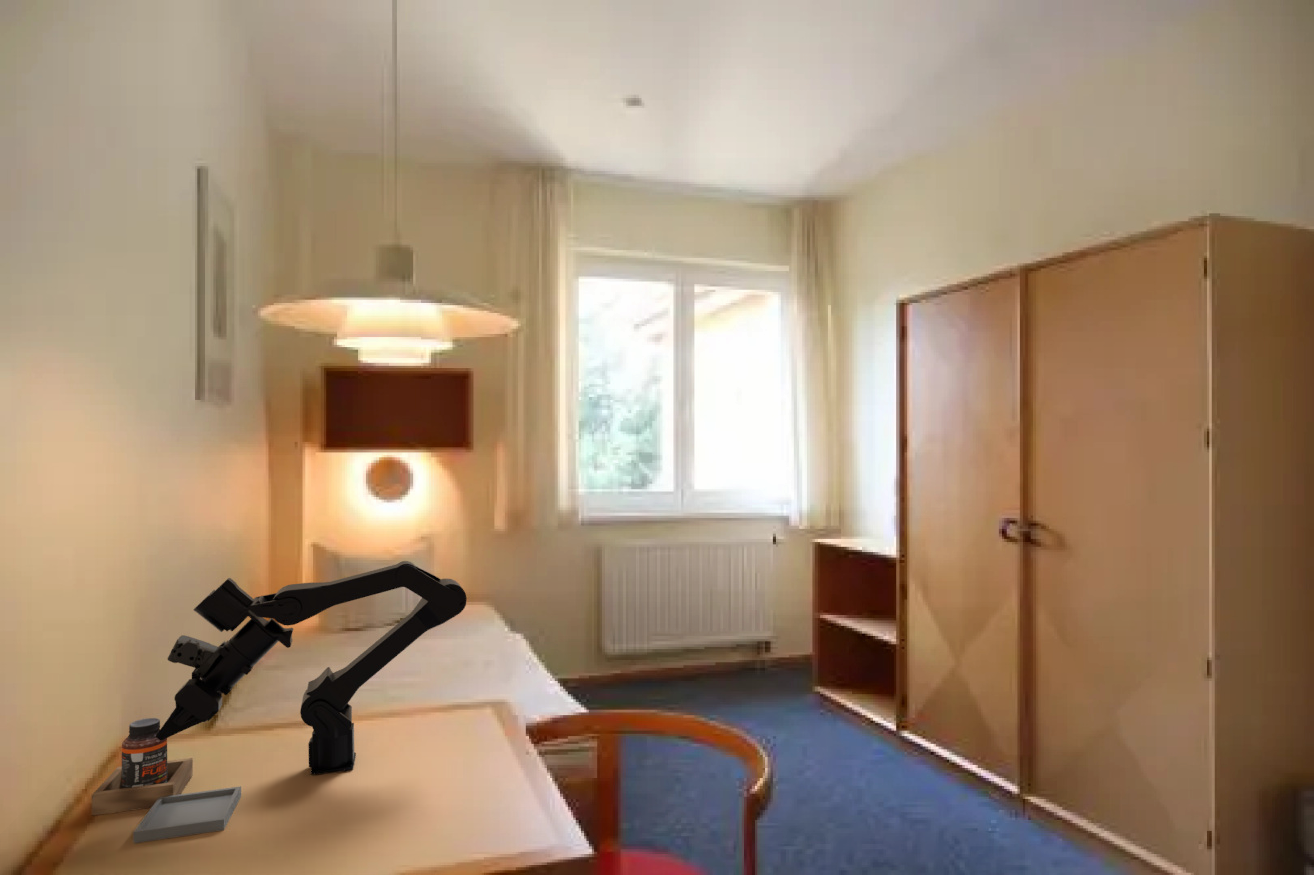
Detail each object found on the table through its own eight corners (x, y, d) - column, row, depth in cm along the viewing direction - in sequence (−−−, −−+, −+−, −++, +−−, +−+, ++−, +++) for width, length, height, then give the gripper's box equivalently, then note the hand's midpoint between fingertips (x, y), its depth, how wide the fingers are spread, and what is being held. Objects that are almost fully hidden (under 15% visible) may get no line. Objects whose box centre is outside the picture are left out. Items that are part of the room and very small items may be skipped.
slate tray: (241, 796, 119) (241, 786, 119) (223, 830, 109) (223, 819, 109) (159, 807, 116) (159, 797, 116) (133, 843, 106) (133, 832, 106)
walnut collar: (192, 776, 127) (192, 757, 127) (173, 804, 117) (173, 784, 117) (118, 785, 124) (118, 766, 124) (91, 815, 114) (91, 795, 114)
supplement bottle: (145, 805, 117) (143, 730, 117) (111, 802, 118) (110, 727, 118) (177, 787, 123) (176, 716, 123) (145, 785, 124) (144, 714, 124)
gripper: (214, 606, 132) (138, 679, 128) (192, 631, 115) (103, 715, 111) (265, 648, 135) (193, 720, 131) (252, 678, 117) (167, 762, 113)
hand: (165, 728), depth 121 cm, fingers open, 9 cm apart
